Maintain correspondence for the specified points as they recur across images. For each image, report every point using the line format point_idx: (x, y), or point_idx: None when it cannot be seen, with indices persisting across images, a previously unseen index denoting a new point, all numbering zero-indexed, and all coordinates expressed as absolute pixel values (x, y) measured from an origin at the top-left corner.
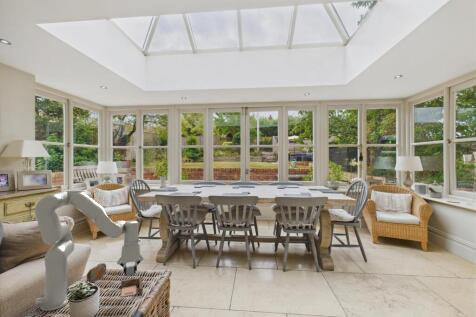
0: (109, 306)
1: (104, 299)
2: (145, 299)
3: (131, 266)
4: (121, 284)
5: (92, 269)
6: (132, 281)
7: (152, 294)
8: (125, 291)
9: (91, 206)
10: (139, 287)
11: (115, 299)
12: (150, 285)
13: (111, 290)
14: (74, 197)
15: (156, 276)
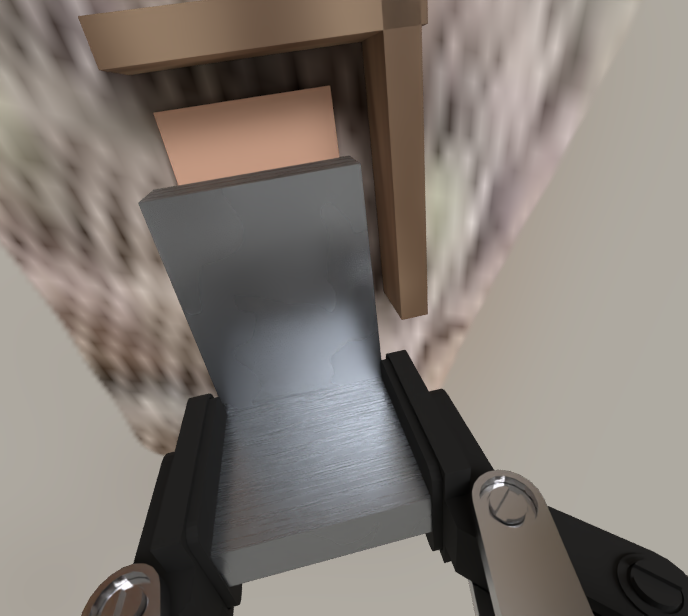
0: (173, 408)
1: (62, 319)
2: (431, 352)
3: (359, 540)
4: (119, 72)
5: None
6: (276, 47)
7: (486, 296)
8: None
9: None
10: (386, 223)
11: (180, 329)
12: (489, 125)
13: (28, 145)
14: None
15: None
